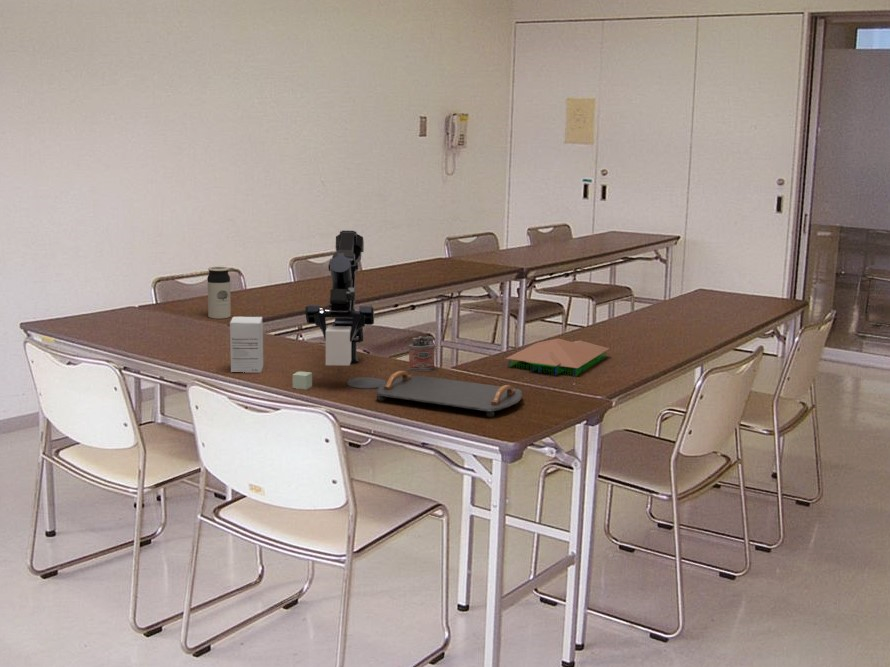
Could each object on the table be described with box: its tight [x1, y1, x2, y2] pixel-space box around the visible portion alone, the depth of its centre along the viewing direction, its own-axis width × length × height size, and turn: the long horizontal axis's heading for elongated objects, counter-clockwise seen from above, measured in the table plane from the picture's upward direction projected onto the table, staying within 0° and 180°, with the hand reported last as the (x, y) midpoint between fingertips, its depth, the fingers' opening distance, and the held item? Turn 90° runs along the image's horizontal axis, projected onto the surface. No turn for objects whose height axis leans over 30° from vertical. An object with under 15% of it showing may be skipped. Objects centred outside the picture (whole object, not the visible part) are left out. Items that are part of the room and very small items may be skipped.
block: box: [292, 371, 313, 391], centre depth 291 cm, size 4×4×4 cm
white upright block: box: [325, 325, 351, 367], centre depth 291 cm, size 6×6×10 cm
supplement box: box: [229, 316, 264, 374], centre depth 308 cm, size 9×9×15 cm
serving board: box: [375, 370, 524, 418], centre depth 281 cm, size 39×23×6 cm, turn 66°
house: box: [505, 338, 610, 377], centre depth 325 cm, size 23×33×8 cm
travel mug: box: [206, 266, 232, 320], centre depth 383 cm, size 8×8×18 cm
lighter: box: [408, 335, 436, 372], centre depth 313 cm, size 8×3×10 cm, turn 106°
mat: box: [346, 377, 387, 390], centre depth 296 cm, size 11×11×1 cm
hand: (338, 340), depth 288 cm, fingers closed on white upright block, 6 cm apart
